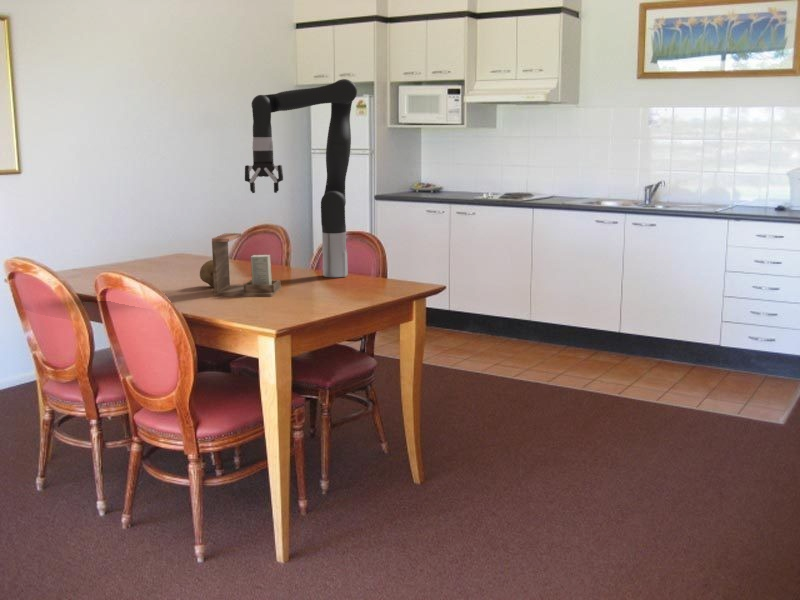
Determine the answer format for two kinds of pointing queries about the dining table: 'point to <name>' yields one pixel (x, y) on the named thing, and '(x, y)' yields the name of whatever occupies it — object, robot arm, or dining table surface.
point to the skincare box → (261, 270)
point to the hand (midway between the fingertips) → (264, 192)
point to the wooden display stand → (222, 272)
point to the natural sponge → (207, 273)
